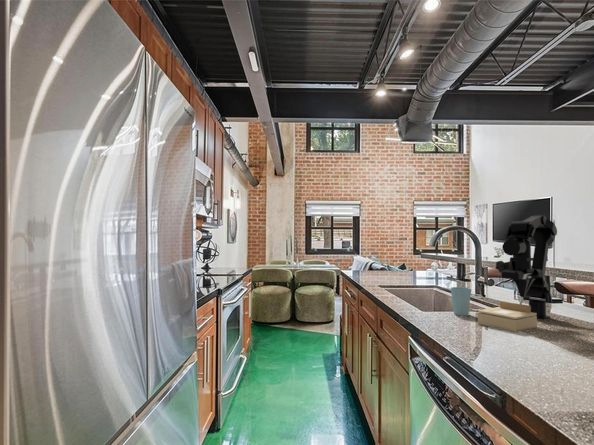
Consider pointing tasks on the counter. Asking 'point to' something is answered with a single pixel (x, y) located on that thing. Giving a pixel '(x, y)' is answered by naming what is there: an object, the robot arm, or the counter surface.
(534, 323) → the box
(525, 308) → the lid
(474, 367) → the counter surface
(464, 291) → the cup
